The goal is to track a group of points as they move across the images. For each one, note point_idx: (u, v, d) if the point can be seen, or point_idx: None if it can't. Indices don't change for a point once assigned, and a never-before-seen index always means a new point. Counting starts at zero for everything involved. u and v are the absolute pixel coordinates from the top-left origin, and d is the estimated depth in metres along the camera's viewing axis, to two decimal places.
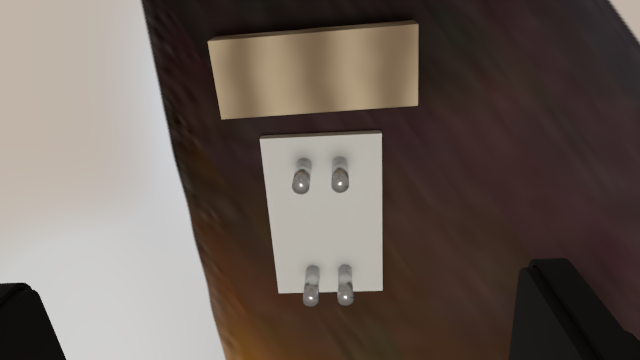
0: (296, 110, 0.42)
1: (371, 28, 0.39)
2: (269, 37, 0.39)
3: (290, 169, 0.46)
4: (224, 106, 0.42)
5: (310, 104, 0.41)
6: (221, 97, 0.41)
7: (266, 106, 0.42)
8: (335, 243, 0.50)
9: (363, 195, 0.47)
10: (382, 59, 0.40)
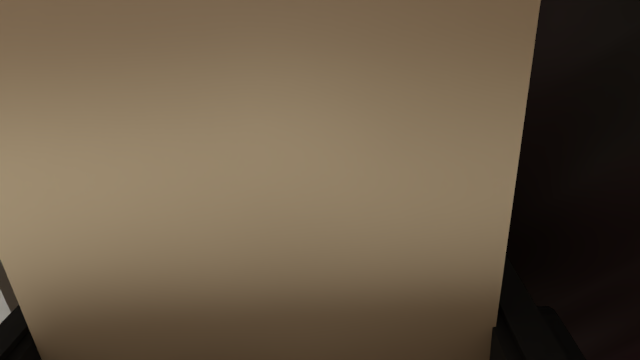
0: (44, 314, 0.07)
1: None
2: (503, 205, 0.06)
3: None
4: None
5: None
6: None
7: (22, 140, 0.06)
8: None
9: None
10: None
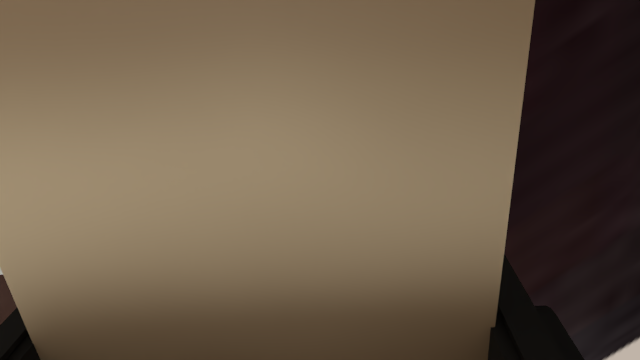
0: (43, 318, 0.07)
1: None
2: (501, 204, 0.06)
3: None
4: None
5: None
6: None
7: (19, 145, 0.06)
8: None
9: None
10: None
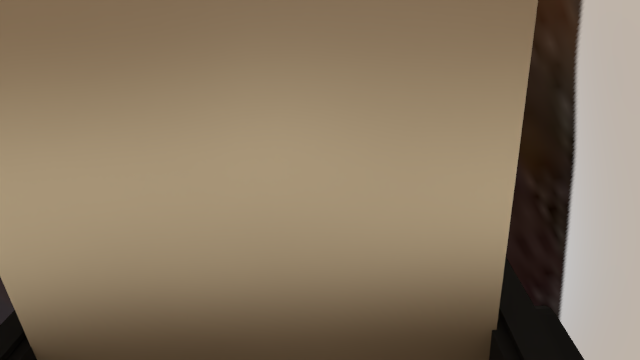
0: (41, 322, 0.07)
1: None
2: (502, 208, 0.06)
3: None
4: None
5: None
6: None
7: (16, 148, 0.06)
8: None
9: None
10: None
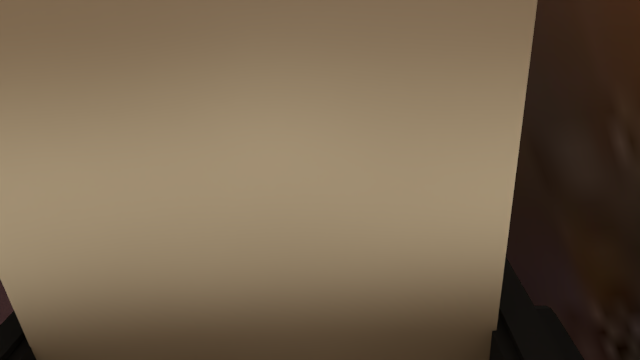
0: (40, 321, 0.07)
1: None
2: (502, 206, 0.06)
3: None
4: None
5: None
6: None
7: (14, 147, 0.06)
8: None
9: None
10: None
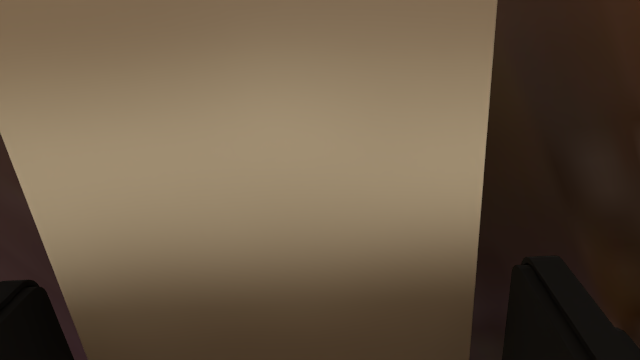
0: (78, 284, 0.08)
1: None
2: (476, 175, 0.07)
3: None
4: None
5: (122, 341, 0.08)
6: None
7: (60, 129, 0.07)
8: None
9: None
10: None
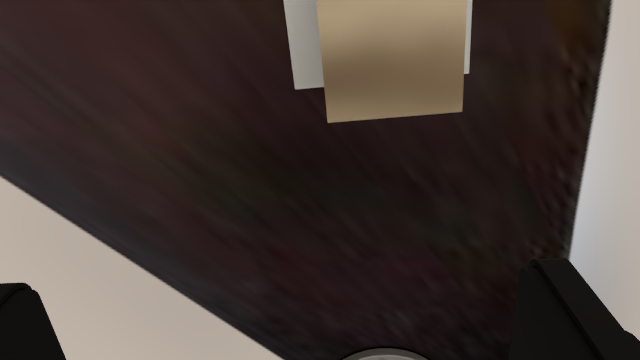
0: None
1: (464, 33, 0.22)
2: None
3: None
4: None
5: None
6: None
7: None
8: None
9: None
10: (409, 57, 0.23)
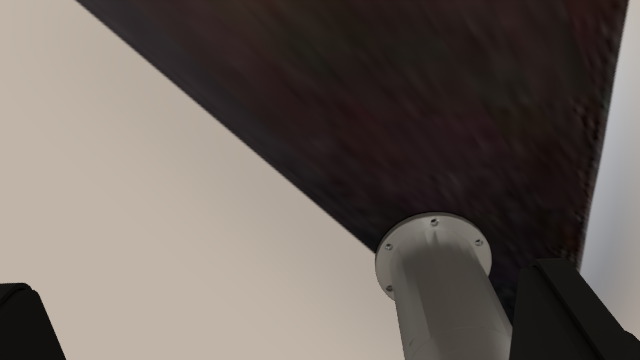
0: None
1: None
2: None
3: None
4: None
5: None
6: None
7: None
8: None
9: None
10: None
